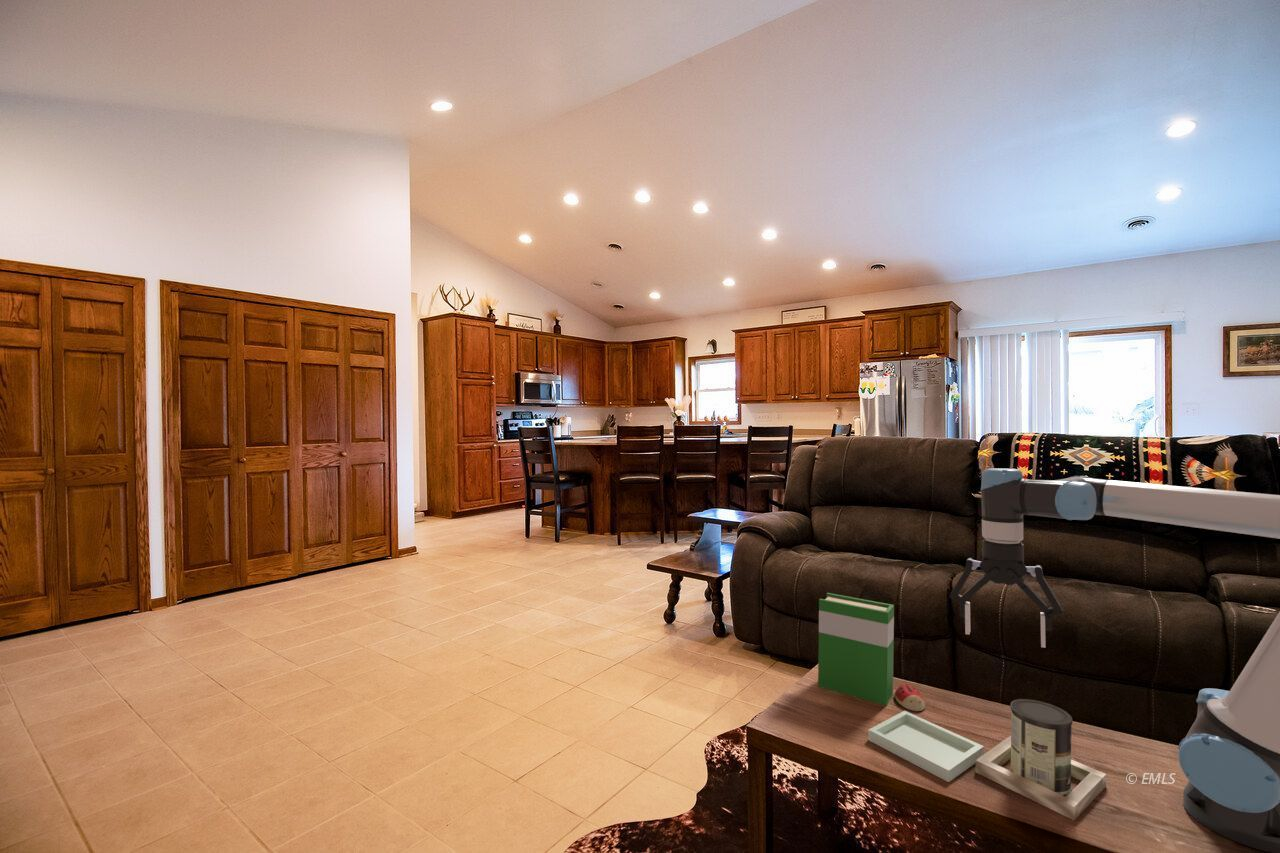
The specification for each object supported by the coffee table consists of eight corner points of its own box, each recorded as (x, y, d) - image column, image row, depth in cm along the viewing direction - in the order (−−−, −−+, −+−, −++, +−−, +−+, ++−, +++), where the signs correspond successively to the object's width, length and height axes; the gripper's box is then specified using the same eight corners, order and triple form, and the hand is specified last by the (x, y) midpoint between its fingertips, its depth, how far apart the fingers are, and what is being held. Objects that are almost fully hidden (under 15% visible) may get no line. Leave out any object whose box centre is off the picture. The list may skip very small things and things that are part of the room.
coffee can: (1054, 767, 118) (1055, 701, 118) (1082, 799, 108) (1083, 727, 108) (1000, 761, 121) (1001, 696, 120) (1023, 792, 110) (1024, 721, 110)
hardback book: (818, 686, 154) (819, 599, 154) (826, 676, 160) (827, 592, 160) (886, 705, 144) (888, 612, 143) (892, 694, 150) (894, 605, 149)
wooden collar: (1106, 786, 112) (1106, 774, 112) (1074, 820, 103) (1074, 807, 103) (1011, 745, 126) (1011, 734, 126) (975, 772, 117) (975, 760, 117)
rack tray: (983, 757, 122) (983, 746, 122) (948, 782, 113) (948, 770, 113) (904, 720, 137) (904, 710, 137) (868, 740, 128) (868, 729, 128)
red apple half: (904, 712, 141) (904, 698, 141) (888, 693, 151) (888, 680, 150) (931, 713, 140) (931, 699, 140) (914, 694, 150) (914, 681, 150)
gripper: (1074, 543, 117) (1076, 645, 116) (939, 532, 131) (941, 623, 131) (1076, 549, 111) (1078, 657, 110) (935, 537, 125) (936, 632, 125)
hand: (1004, 639), depth 121 cm, fingers open, 13 cm apart
